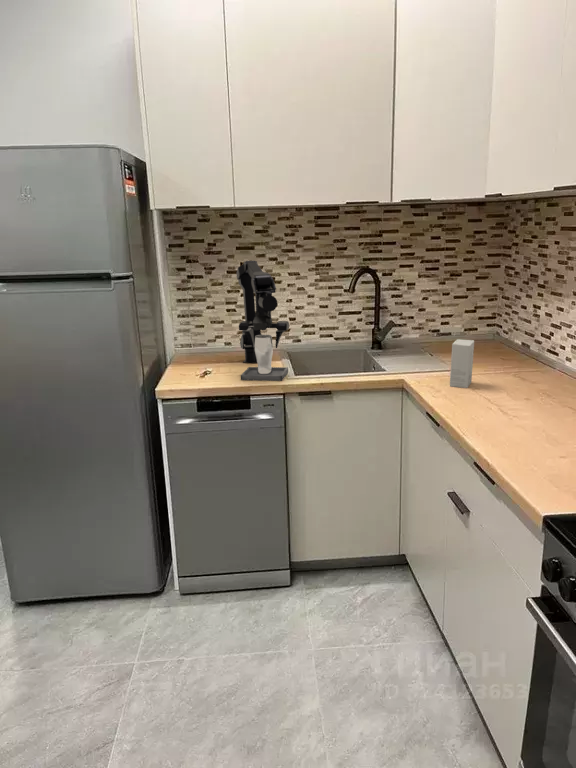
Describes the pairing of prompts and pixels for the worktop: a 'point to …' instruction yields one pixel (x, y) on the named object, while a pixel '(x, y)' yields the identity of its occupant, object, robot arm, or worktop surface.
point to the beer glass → (264, 354)
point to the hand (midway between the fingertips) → (264, 347)
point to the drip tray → (252, 375)
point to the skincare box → (461, 363)
